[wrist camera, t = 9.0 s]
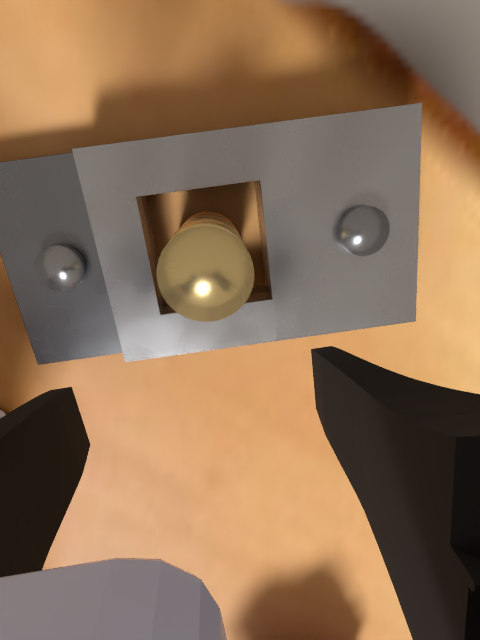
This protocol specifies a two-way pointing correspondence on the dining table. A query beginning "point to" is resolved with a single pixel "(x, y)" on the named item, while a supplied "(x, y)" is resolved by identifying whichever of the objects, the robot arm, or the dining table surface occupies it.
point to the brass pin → (205, 269)
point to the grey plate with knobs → (274, 222)
